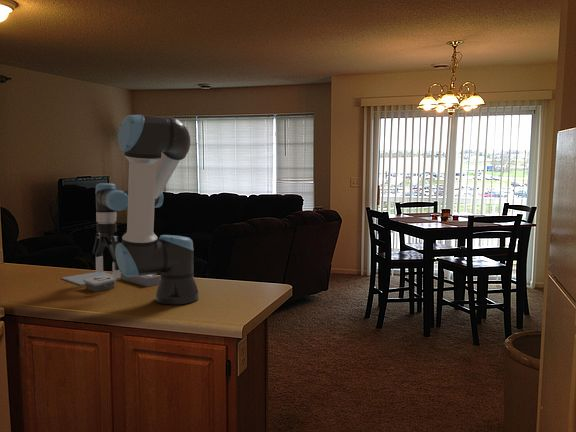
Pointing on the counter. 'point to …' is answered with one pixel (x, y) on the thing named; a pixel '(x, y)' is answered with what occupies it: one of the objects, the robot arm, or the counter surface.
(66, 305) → the counter surface
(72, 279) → the mat
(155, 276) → the power strip
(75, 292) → the counter surface
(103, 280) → the electrical switch
